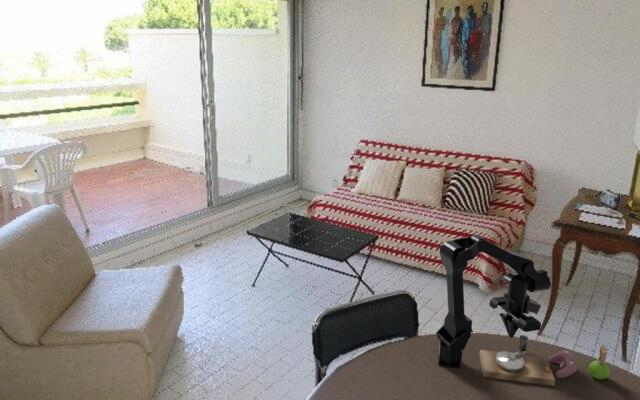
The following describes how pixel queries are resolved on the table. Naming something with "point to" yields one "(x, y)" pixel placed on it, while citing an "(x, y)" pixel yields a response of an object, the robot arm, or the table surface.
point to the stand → (532, 372)
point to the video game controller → (564, 363)
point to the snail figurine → (600, 365)
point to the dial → (513, 357)
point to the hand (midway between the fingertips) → (510, 337)
